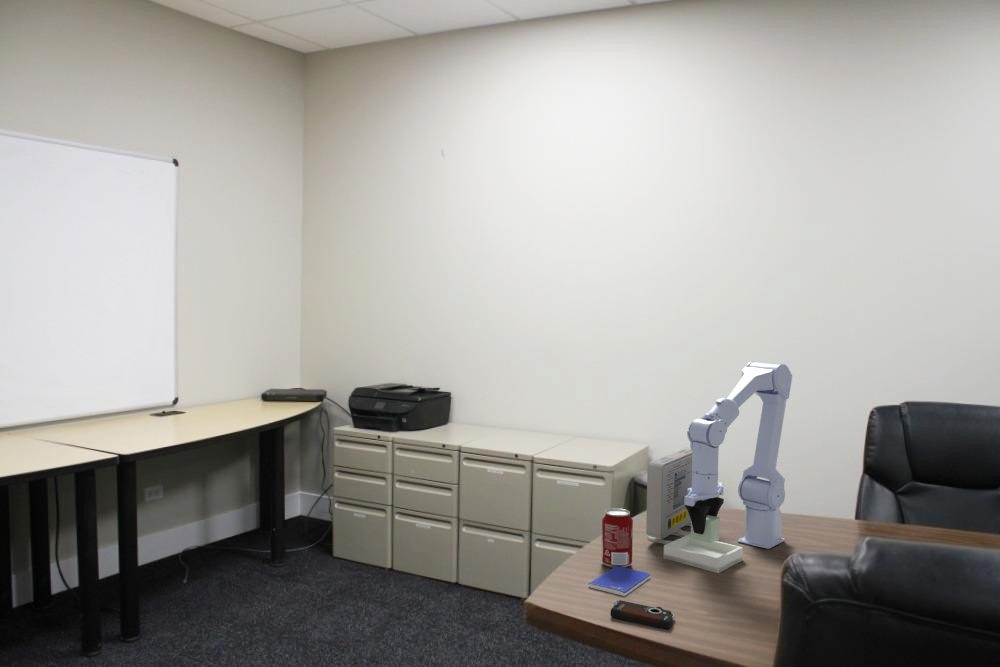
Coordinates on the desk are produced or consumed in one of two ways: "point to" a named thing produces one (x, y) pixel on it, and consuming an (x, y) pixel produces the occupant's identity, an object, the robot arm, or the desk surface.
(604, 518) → the soda can
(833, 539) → the desk surface
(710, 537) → the sage block
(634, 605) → the camera
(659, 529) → the network device
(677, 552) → the desk bin
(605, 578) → the hard drive
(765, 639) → the desk surface
